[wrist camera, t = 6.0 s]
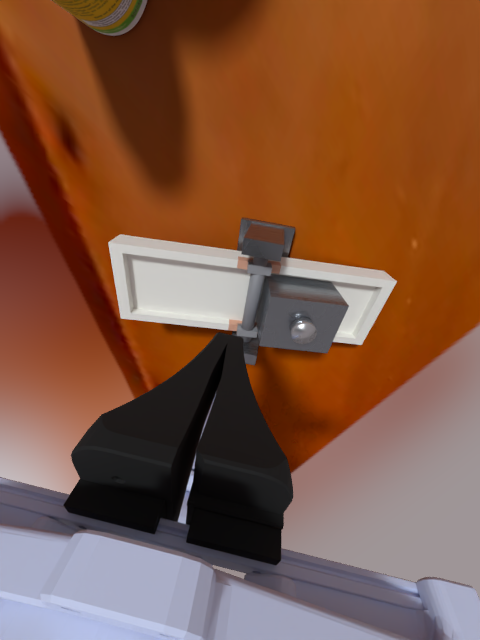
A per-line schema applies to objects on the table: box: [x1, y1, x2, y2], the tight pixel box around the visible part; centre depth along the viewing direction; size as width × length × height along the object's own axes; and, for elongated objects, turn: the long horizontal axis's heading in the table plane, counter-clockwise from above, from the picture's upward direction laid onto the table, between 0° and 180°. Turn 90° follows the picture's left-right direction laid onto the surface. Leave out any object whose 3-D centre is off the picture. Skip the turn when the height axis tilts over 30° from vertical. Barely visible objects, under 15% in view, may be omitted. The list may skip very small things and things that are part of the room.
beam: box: [108, 235, 397, 345], centre depth 19 cm, size 7×20×2 cm, turn 82°
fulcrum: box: [232, 218, 295, 365], centre depth 19 cm, size 10×4×5 cm, turn 172°
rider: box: [256, 274, 349, 353], centre depth 17 cm, size 4×5×4 cm
